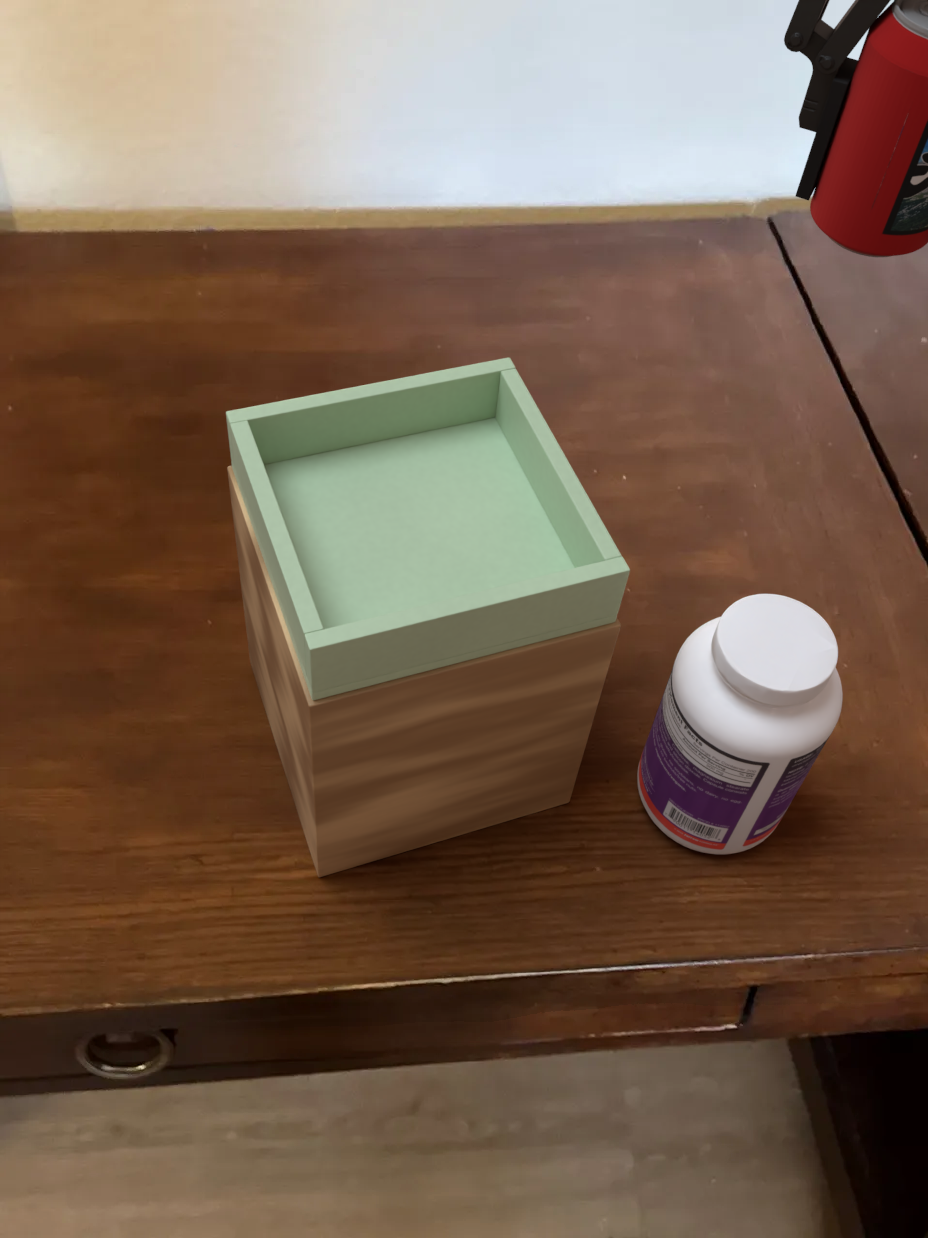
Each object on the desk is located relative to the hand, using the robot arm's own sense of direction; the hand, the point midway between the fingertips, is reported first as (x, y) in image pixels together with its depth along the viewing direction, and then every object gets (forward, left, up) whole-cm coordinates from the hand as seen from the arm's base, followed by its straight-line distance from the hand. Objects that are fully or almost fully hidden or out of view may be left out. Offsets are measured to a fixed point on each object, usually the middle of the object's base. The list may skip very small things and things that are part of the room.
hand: (875, 206), depth 65 cm
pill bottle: (-21, +16, -21) cm, 33 cm away
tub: (-12, +30, -5) cm, 32 cm away
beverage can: (0, 0, -2) cm, 2 cm away
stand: (-12, +30, -21) cm, 38 cm away
